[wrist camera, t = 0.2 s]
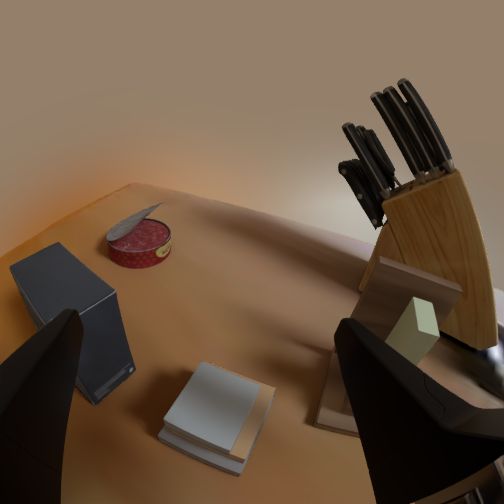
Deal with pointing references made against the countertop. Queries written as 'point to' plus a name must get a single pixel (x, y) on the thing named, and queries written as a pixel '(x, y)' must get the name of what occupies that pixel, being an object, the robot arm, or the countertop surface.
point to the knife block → (424, 211)
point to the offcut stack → (217, 417)
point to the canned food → (139, 241)
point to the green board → (415, 331)
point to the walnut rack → (382, 327)
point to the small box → (90, 310)
